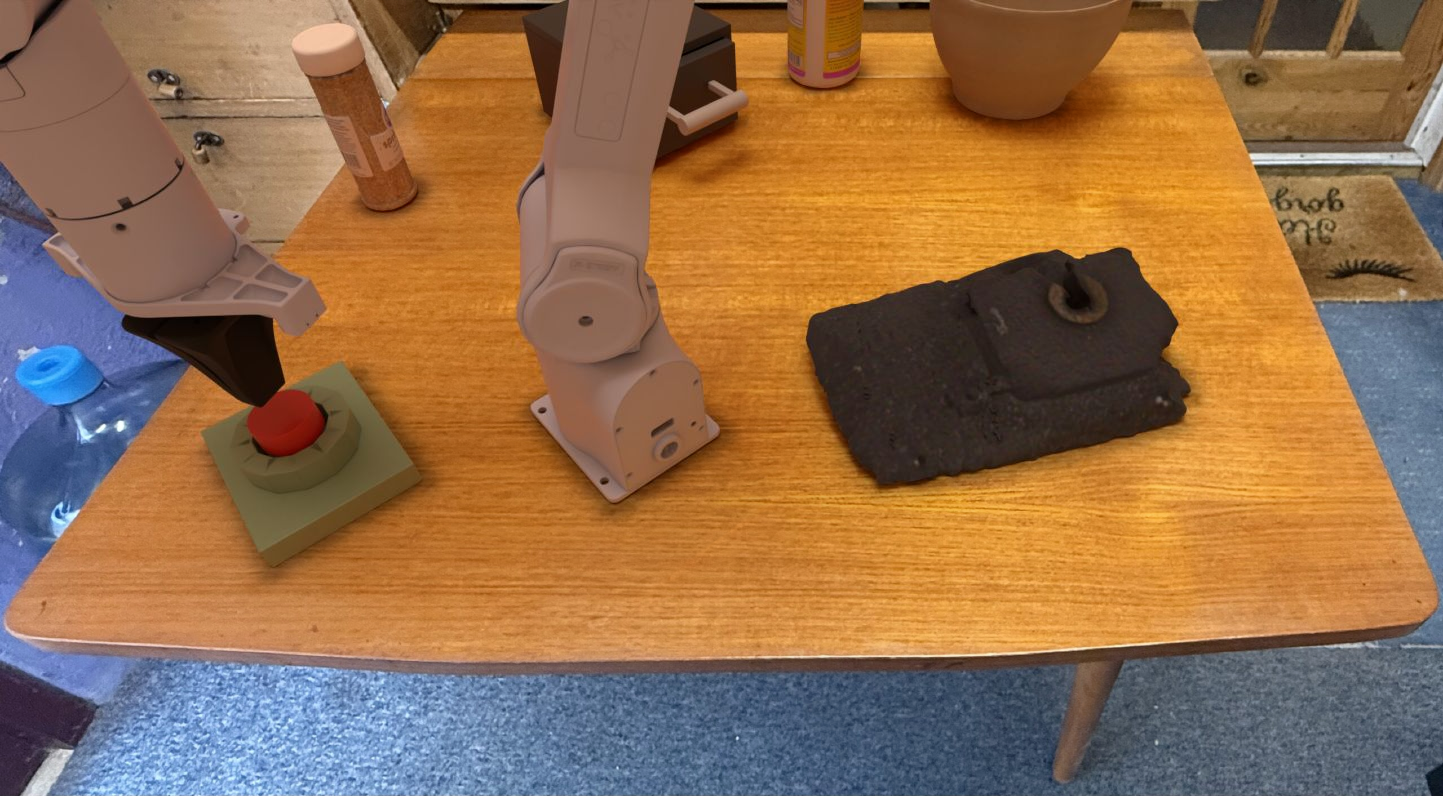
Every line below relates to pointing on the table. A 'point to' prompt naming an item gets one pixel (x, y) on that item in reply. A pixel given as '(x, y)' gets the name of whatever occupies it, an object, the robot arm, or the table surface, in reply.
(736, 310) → the table surface
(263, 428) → the button
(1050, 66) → the planter bowl
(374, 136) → the sprinkles bottle
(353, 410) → the control block
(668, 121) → the drawer
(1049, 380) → the black stepped slab
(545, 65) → the cabinet
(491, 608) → the table surface
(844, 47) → the supplement bottle
